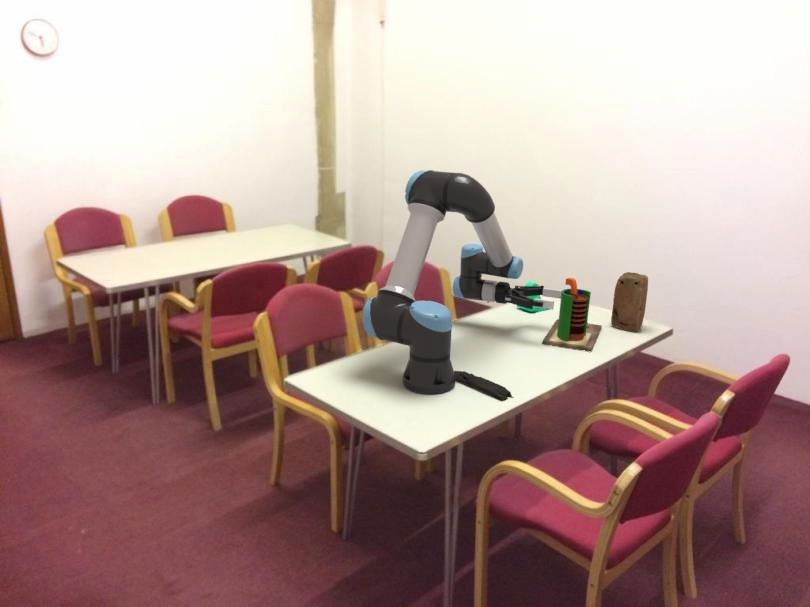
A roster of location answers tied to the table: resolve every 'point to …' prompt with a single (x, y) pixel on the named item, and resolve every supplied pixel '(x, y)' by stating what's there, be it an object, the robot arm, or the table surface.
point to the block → (629, 301)
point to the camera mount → (533, 299)
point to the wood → (484, 385)
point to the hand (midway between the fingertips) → (557, 299)
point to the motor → (573, 312)
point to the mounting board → (584, 344)
